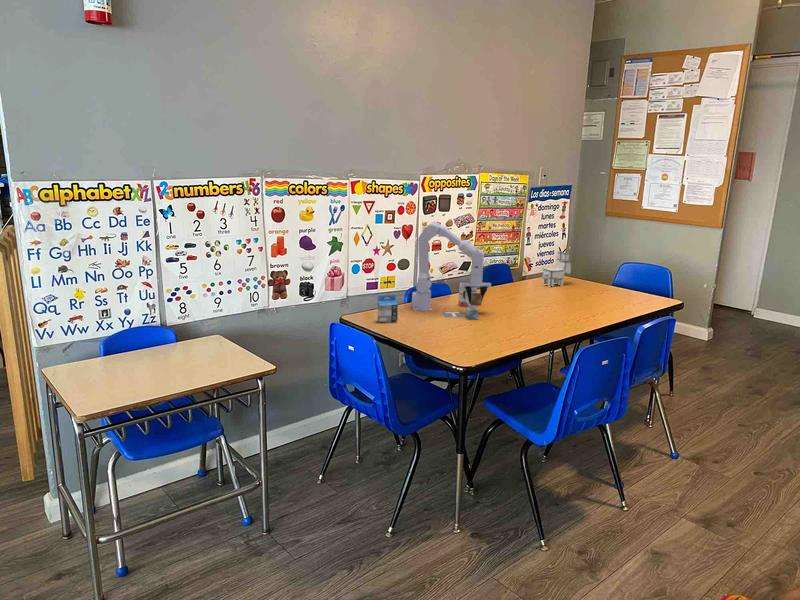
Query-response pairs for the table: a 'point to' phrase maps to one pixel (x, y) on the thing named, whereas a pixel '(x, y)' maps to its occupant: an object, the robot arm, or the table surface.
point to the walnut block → (476, 299)
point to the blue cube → (471, 313)
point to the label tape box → (387, 308)
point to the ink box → (465, 296)
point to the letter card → (453, 314)
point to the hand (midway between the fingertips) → (475, 301)
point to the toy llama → (557, 270)
